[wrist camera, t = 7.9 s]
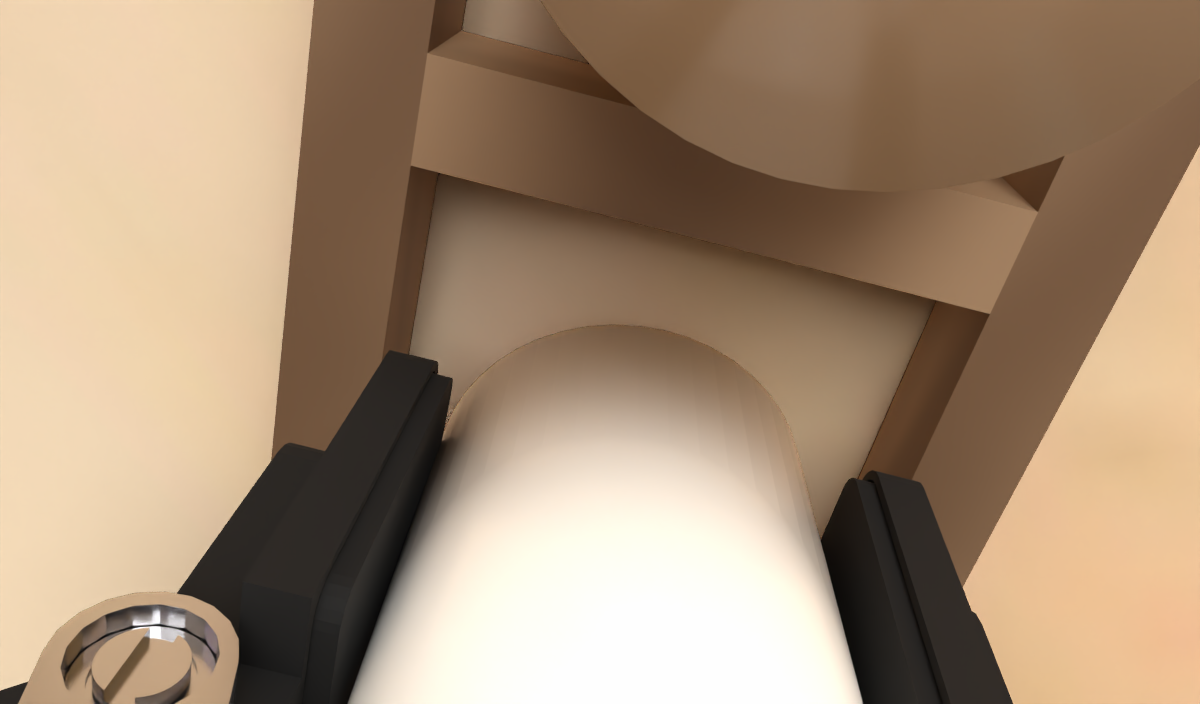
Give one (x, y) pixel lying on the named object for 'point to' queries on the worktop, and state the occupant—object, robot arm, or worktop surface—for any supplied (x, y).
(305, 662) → the robot arm
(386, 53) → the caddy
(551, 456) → the cylinder
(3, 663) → the worktop surface
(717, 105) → the honey jar
